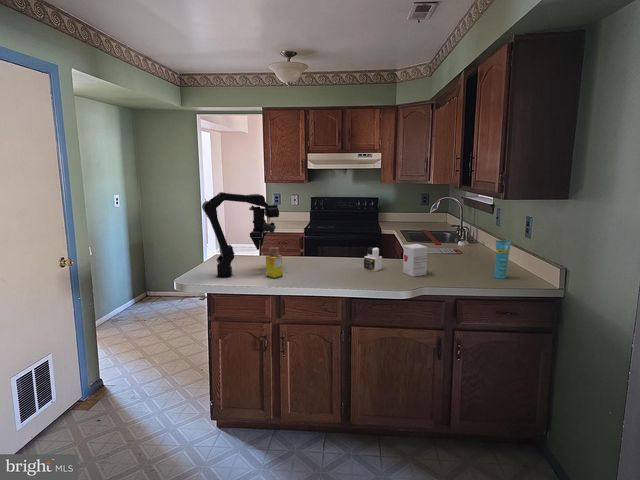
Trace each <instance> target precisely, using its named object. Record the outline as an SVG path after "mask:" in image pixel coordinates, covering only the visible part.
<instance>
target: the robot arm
mask: <svg viewBox="0 0 640 480" xmlns="http://www.w3.org/2000/svg"><path fill="white" fill-rule="evenodd" d="M225 201H229V202H237V203H238V202H239V203H247V204H251V206H250V207H249V209H248V210H249V211H253V212H252V214H253V220H252V224H253V228H252V231H251V232H250V233H249V238H250V239H251V241H252V242H253V245H254V247H255V248H256V250H257V251H260V246H261V247H263V246H264V241H265V236H266V235H267V234H268V232H269V233H271V234H274V233H275V230H276V228H277V226H276V225H275V222H273V221H271V222H270V223H269V222H268V223H267V220H266V219H265V217H267V219H270V218H271V219H273V218H275V219H276V218H279V217H280V211H279V207H278V204H270V205H269V204H268V203H267V202H266V198H265V196H264V195H262V194H259V193H252V194H251V193H250V194H240V193H239V194H238V193H230V192H224V191H223V192H222V191H221V192H218V194H217V195H215V196H213V197H211V199H209V200H205V201H204V202H203V203H202V206H201V210H202V211H203V212H204V214H205V215H206V217H207V218H208V219H209V222H210V224H211V227H212V230H213V233H214V236H215V237H216V240H217V242H218V246H219V256H218V257H217V258H216V262H217V263H218V264H217V265H216V267H217V268H216V269H217V270H216V271H217V275H216V278H231V276H232V275H233V267H232V265H231V264H232V262H233V261H234V260H235V254H236V253H235V252H234V249H233V246H232V245H231V244H230V243H229V244H228V243H227V239H226V236H225V235H224V231H223V229H222V227H221V223H220V221H219V218H218V209H217V208H218V207H219V206H220V205H222V203H223V202H225ZM261 207H262V208H261Z"/></svg>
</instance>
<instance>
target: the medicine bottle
mask: <svg viewBox="0 0 640 480" xmlns="http://www.w3.org/2000/svg"><path fill="white" fill-rule="evenodd" d="M379 254H380V248H378V247H376V246H370V247H367V255H365V256H363V270H366V271H371V272H377V271H380V270H382V269H383V256H381V255H379Z"/></svg>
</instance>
